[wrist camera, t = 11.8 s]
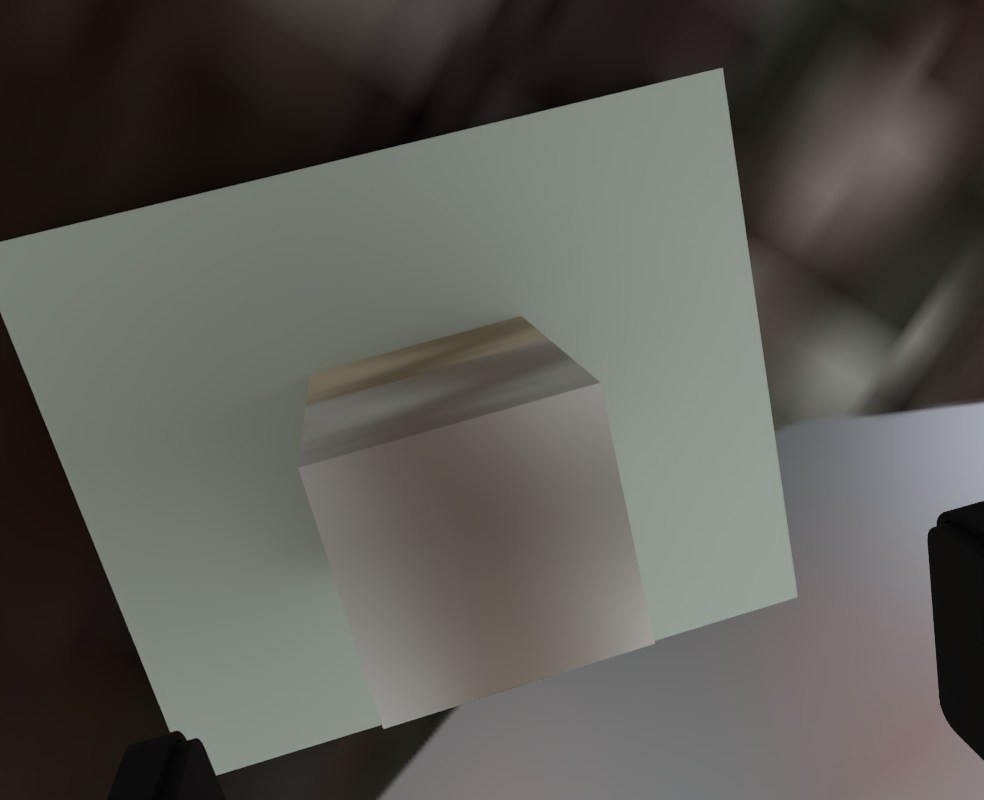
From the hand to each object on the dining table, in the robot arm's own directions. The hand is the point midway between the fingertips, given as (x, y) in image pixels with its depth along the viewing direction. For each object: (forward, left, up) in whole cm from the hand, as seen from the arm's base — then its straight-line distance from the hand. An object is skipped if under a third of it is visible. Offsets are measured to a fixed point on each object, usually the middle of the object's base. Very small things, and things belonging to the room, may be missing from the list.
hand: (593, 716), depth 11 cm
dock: (+1, 0, -17) cm, 17 cm away
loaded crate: (+1, 0, -13) cm, 13 cm away
